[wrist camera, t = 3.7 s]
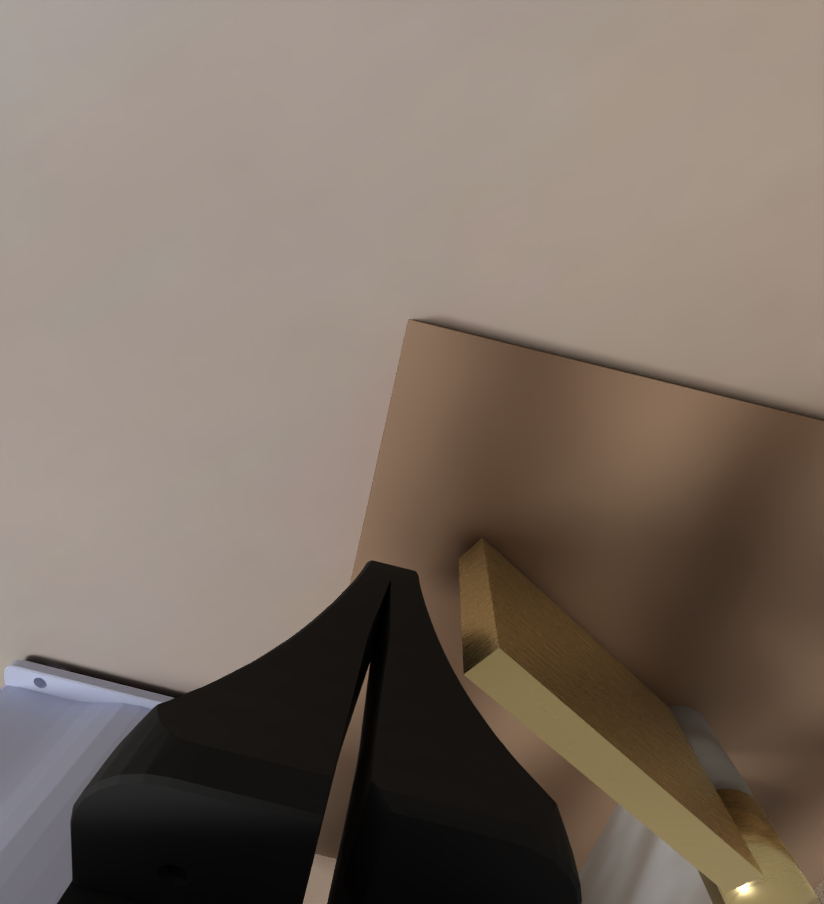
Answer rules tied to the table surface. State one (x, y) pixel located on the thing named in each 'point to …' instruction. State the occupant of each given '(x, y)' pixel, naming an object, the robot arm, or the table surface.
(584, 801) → the hinge base
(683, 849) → the hinge leaf
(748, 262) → the table surface
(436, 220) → the table surface
